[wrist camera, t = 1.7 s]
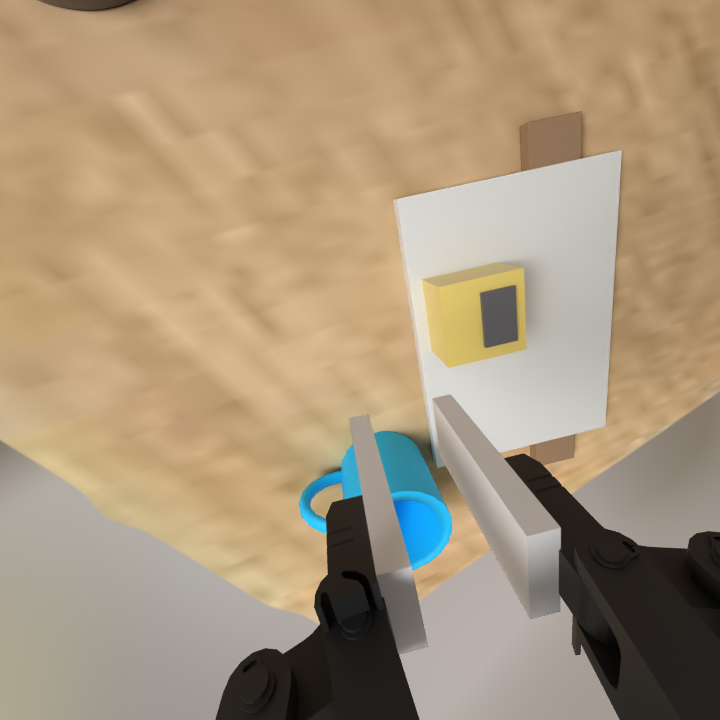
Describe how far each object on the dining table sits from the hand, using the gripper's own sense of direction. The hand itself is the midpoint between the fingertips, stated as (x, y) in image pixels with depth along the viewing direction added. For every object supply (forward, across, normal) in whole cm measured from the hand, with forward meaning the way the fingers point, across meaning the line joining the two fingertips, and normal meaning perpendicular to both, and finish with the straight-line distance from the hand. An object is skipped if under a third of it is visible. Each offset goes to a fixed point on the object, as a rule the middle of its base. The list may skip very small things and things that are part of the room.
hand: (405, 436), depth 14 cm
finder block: (+15, +8, 0) cm, 18 cm away
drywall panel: (+17, +13, -3) cm, 21 cm away
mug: (+17, -2, -14) cm, 22 cm away
